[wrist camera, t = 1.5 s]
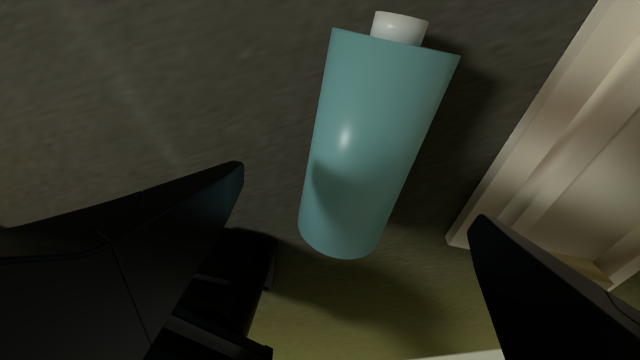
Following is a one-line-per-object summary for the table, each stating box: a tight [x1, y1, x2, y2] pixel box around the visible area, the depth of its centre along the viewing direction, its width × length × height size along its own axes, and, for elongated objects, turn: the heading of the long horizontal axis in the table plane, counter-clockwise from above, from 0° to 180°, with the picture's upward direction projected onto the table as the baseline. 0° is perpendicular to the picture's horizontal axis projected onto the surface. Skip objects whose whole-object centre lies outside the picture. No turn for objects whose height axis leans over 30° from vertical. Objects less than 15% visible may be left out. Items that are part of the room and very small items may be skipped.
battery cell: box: [298, 11, 461, 259], centre depth 12 cm, size 11×5×5 cm, turn 169°
